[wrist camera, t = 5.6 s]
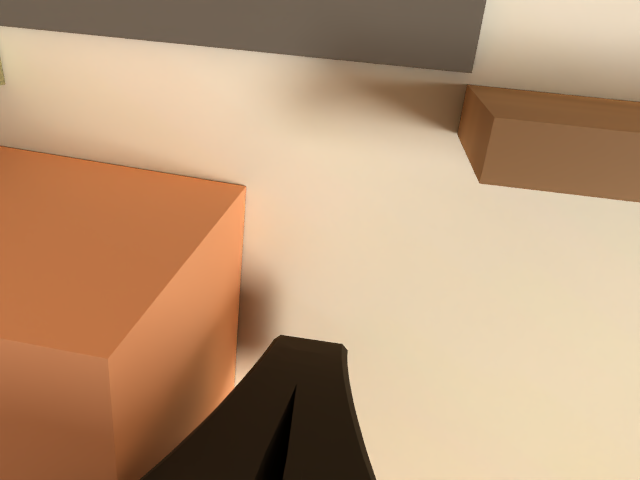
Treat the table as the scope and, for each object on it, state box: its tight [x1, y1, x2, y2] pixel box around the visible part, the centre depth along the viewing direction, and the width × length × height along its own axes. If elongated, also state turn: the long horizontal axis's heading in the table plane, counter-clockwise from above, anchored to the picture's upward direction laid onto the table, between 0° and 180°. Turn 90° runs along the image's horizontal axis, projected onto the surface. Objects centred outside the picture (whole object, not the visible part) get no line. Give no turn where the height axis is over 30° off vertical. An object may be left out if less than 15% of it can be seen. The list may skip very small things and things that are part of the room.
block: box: [0, 146, 246, 480], centre depth 9 cm, size 6×6×5 cm
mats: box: [0, 0, 486, 73], centre depth 10 cm, size 19×14×1 cm
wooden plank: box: [0, 59, 640, 202], centre depth 9 cm, size 11×25×2 cm, turn 85°
